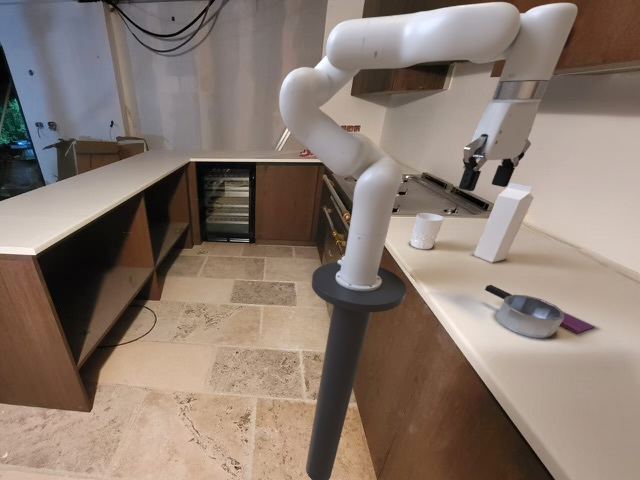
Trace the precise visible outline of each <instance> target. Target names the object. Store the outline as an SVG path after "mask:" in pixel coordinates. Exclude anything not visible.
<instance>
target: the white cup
mask: <svg viewBox="0 0 640 480" xmlns="http://www.w3.org/2000/svg"><path fill="white" fill-rule="evenodd" d="M444 220H445V218H444V217H443V216H442V215H439V214H437V213H432V212H431V213H429V212H420V213H416V217H415V221H414V223H413V224H414V225H413V228H412V234H411V240H410V245H411V246H412V247H414V248H416V249H420V250H431V249H432V248H433V247H434V245H435V241H436V240H437V238H438V235H439V232H440V231H441V228H442V225H443V222H444Z"/></svg>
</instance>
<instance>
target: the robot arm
mask: <svg viewBox="0 0 640 480" xmlns="http://www.w3.org/2000/svg"><path fill="white" fill-rule="evenodd" d="M577 15H578V6H577V5H576V3H572V2H556V3H555V2H554V3H547V4H543V5H539V6H535V7H532V8H530V9H529V10H527V11H526V12H520V10H519V9H518V8H517V7H516V6H515V4H512V3H510V2H505V1H493V2H491V1H490V2H482V3H472V4H471V3H470V4H461V5H455V6H448V7H442V8H441V7H440V8H436V9H431V10H425V11H424V10H423V11H418V12H413V13H405V14H395V15H394V14H393V15H388V16H387V15H385V16H375V17H364V18H353V19H347V20H344V21H342V22H340V23H337V25H335V26H334V27H333V28H332V30H331V31H330V33H329V35H328V37H327V41H326V46H325V54H326V55H325V56H323V58H322V59H321V60H320V61H319V62H318V63H317V64H316V65H315V67H307V66H301V67H298V68H296V69H293V70H291V72H289V73H288V74H287V75H286V76H285V78H284V79H283V81H282V84H281V87H280V90H279V98H278V105H279V113H280V116H281V119H282V122H283V124H284V126H285V127H286V129H287V130H288V132H289V133H290V134H291V135H292V136H293V137H294V138H295V139H296V140H297V141H298V142H299V143H301V144H302V145H303V146H304V147H305V148H306V149H307V150H308V151H309V152H310V153H311V154H312V155H313V156H314V157H316V159H318V160H319V161H320V162H321V163H322V164H323V165H324V166H325V167H327V169H329V171H331V172H332V174H334V175H336V176H339V177H348V176H351V177H352V178H353V179H354V180H356V183H355V186H354V190H353V197H352V210H351V217H350V223H349V230H348V235H347V239H346V246H345V253H344V256H342V257H341V259H338V260H337V261H336V262H337V263H338V264H339V265H341V270H340V271H338V272H337V273H336V281H337V282H338V283H339V284H340V285H341V286H343V287H345V288H347V289H351V290H355V291H373V290H376V289H378V288H379V287H380V286H381V282H382V280H381V278H380V277H379V276H378V275H377V273H378V269H379V267H380V265H381V261H382V256H383V252H384V248H385V245H386V241H387V235H388V233H389V232H388V231H389V228H390V224H391V218H392V214H393V210H394V204H395V201H396V197H397V194H398V191H399V189H400V187H401V185H402V182H403V178H404V176H403V170H402V167H401V166H400V164H399V163H398V162H397V161H396V160H395V159H394V158H393V157H391V156H390V155H389V154H388V153H387V152H386V151H384V150H383V149H382V148H381V147H380V146H379V145H378V144H377V143H375V141H373V140H372V139H371V138H370V137H368V136H367V135H365V134H363V133H360V132H349V131H347V130H346V129H344V128H343V127H342V126H341V125H339V123H337V122H336V121H335V120H334V118H332V117H331V116H329V115H328V114H327V113H325V112H324V111H323V110H322V109H320V108H321V107H322V106H324V105H325V104H327V103H328V102H329V101H330V100H331V99H332V98H333V97H335V95H336V94H338V93H339V92H340V90H341V89H343V88H344V87H345V86H346V85H347V84H348V83H349V82H350V81H351V80H352V79H353V78H354V77H355V76H356V75H358V73H359V72H360V71H361V70H378V69H402V68H403V69H404V68H408V67H411V66H414V65H417V64H421V63H428V62H429V63H430V62H441V61H443V62H444V61H465V60H466V61H469V62H471V63H474V64H486V63H491V62H497V61H502V60H505V63H504V65H503V68H502V71H501V74H500V78H499V80H498V82H497V86H496V88H495V91H494V93H493V96H492V99H491V102H488V105H486V108H485V110H484V111H483V114H482V115H481V118H480V120H479V122H478V124H477V127H476V129H475V132H474V133H473V137H472V139H471V142H470V143H469V144H467V145H465V147H463V158H462V162H463V167H462V168H463V169H464V170H463V174H462V175H461V179H460V182H459V185H458V189H460V190H463V191H467V192H473V191H475V189H476V187H477V184H478V181H479V179H480V176H481V174H482V171H481V170H480V169H481V168H482V167H483V166H484V165H485V164H486V163H487V161H499V160H500V164H498V165H497V168H496V170H495V173H494V175H493V178H492V180H491V185H492V186H497V187H501V188H507V187H508V185H509V183H510V181H511V179H512V176H513V174H514V171H515V169H516V167H518V166H519V164H520V161H521V160H523V158H524V156H525V154H526V152H527V151H528V150H529V148H530V147H531V145H532V142H531V141H530V140H529V137H530V135H531V131H532V129H533V126H534V123H535V120H536V117H537V114H538V109H539V106H540V103H541V102H542V99H543V97H544V95H545V93H546V90H547V88H548V86H549V83H550V80H551V78H552V76H553V73H554V71H555V69H556V67H557V64H558V61H559V59H560V56H561V54H562V52H563V50H564V47H565V45H566V42H567V40H568V37H569V34H570V33H571V30H572V28H573V25H574V24H575V20H576V18H577Z"/></svg>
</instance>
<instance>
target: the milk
mask: <svg viewBox="0 0 640 480" xmlns="http://www.w3.org/2000/svg"><path fill="white" fill-rule="evenodd" d="M532 189H533V186H531V185H524V184H520V183H515V182H509V183H508V186H507V187H506V188H505V189H504V190H502V191H501V192H500V193H498V195H497V197H496V199H495V202H494V204H493V207H492V210H491V211H490V214H489V216H488V219H487V222H486V223H485V226H484V229H483V231H482V233H481V236H480V239H479V240H478V243H477V246H476V249H475V251H474V253H473V256H475V257H477V258H479V259H482V260H485V261H487V262H489V263H496V262H499V261H503V260H505V259H506V258H507V256H508V254H509V252H510V249H511V247H512V246H513V243H514V241H515V239H516V237H517V235H518V232H519V230H520V228H521V225H522V223H523V222H524V219H525V218H526V215H527V213H528V211H529V209H530V206H531V204H532V202H533V200H534V196H533V194H532V193H531V191H532Z"/></svg>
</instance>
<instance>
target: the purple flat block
mask: <svg viewBox="0 0 640 480" xmlns="http://www.w3.org/2000/svg"><path fill="white" fill-rule="evenodd" d="M559 327H562V328H564V329H566V330H568V331H570V332H571V333H574V334H580V333H582V332H585V331H588V330H591V329H594V328H595V325H592V324H590V323H588V322H585V321H583V320H581V319H580V318H577V317H575V316H573V315H570V314H568V313H566V312H564V319H563V321H562V322H561V324H560V325H559Z"/></svg>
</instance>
